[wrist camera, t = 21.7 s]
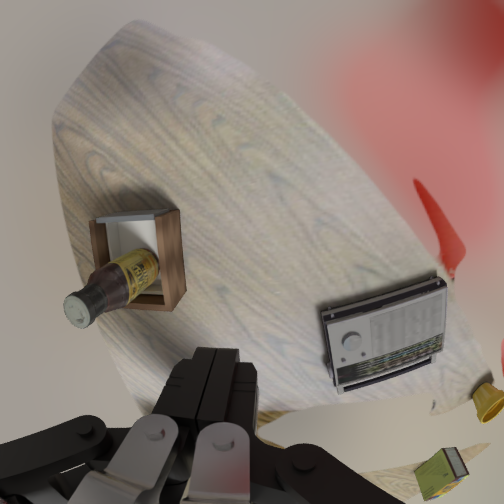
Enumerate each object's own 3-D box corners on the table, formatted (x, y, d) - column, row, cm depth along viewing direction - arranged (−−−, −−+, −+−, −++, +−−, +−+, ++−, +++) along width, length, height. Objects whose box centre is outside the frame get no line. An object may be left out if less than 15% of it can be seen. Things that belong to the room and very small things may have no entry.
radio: (450, 282, 39) (443, 368, 44) (436, 273, 44) (432, 354, 49) (321, 323, 42) (334, 405, 47) (316, 308, 47) (330, 388, 52)
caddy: (186, 290, 48) (172, 311, 40) (124, 288, 48) (103, 306, 41) (179, 209, 44) (161, 217, 36) (114, 213, 45) (88, 221, 37)
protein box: (413, 472, 63) (423, 501, 48) (441, 447, 59) (455, 478, 44) (430, 470, 63) (440, 497, 49) (456, 446, 59) (470, 474, 44)
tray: (176, 285, 46) (163, 301, 40) (125, 284, 47) (108, 298, 41) (169, 208, 43) (153, 214, 36) (116, 212, 43) (95, 218, 37)
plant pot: (483, 399, 53) (497, 418, 43) (462, 407, 53) (475, 428, 44) (497, 374, 50) (513, 392, 40) (476, 380, 50) (492, 401, 41)
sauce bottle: (160, 285, 45) (101, 349, 26) (128, 276, 45) (60, 332, 26) (164, 248, 44) (96, 298, 24) (130, 240, 44) (53, 282, 24)
